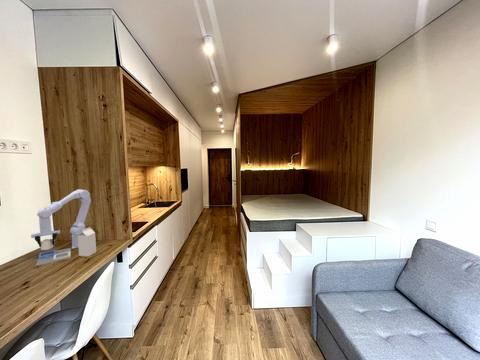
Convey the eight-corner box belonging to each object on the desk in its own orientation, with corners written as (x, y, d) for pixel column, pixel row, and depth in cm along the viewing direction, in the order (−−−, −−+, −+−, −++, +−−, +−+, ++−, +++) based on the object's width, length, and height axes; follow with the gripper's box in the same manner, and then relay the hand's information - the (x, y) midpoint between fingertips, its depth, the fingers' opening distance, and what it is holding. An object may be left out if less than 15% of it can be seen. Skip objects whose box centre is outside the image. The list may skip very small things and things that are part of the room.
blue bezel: (56, 250, 153) (56, 249, 153) (55, 255, 144) (55, 254, 144) (40, 254, 147) (40, 252, 147) (38, 259, 139) (38, 257, 139)
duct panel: (71, 248, 158) (70, 246, 158) (70, 258, 142) (70, 256, 141) (40, 254, 147) (39, 252, 147) (35, 266, 131) (35, 263, 131)
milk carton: (96, 252, 151) (94, 227, 149) (88, 257, 144) (86, 230, 142) (87, 252, 152) (85, 226, 150) (79, 256, 145) (77, 230, 143)
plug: (53, 247, 148) (52, 238, 147) (48, 249, 144) (47, 241, 143) (46, 247, 147) (45, 239, 147) (41, 250, 143) (40, 241, 142)
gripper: (59, 223, 152) (61, 241, 153) (31, 227, 143) (33, 246, 144) (59, 225, 146) (60, 244, 147) (29, 229, 137) (31, 249, 138)
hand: (47, 245), depth 145 cm, fingers closed on plug, 6 cm apart
